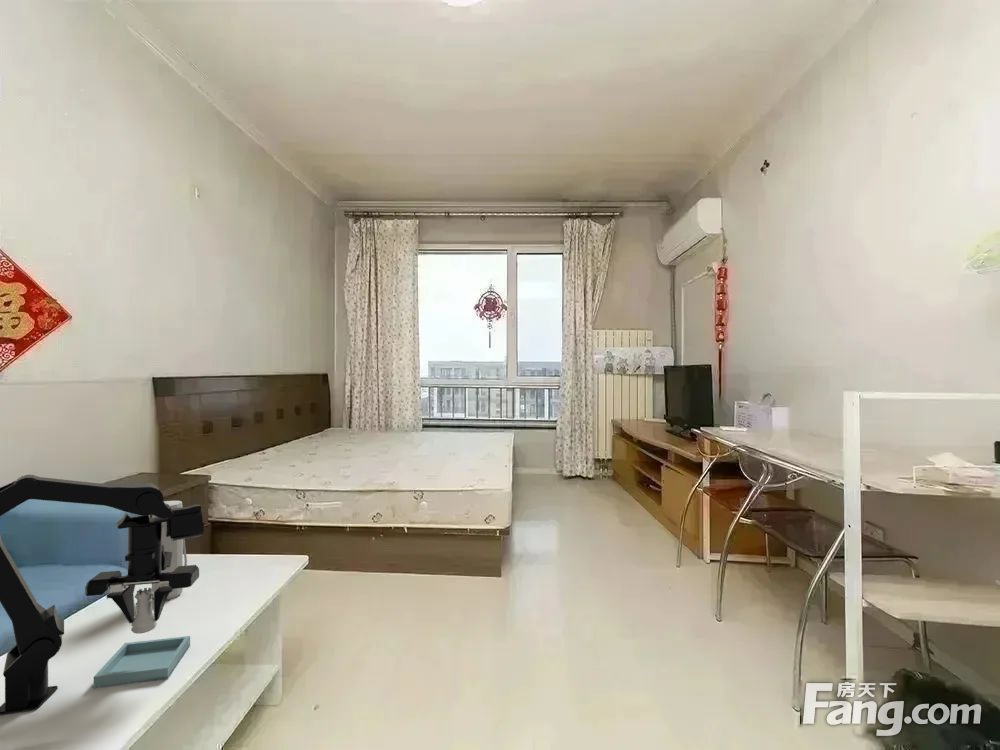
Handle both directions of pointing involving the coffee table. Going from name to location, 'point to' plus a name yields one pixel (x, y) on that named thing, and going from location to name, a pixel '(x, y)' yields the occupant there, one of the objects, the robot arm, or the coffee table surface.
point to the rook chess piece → (143, 612)
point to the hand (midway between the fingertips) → (144, 621)
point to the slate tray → (142, 662)
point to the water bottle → (176, 550)
